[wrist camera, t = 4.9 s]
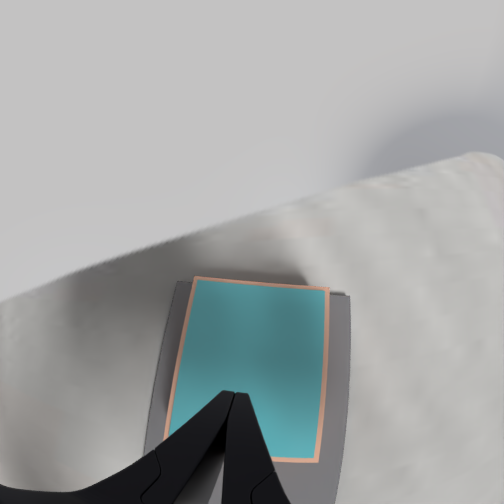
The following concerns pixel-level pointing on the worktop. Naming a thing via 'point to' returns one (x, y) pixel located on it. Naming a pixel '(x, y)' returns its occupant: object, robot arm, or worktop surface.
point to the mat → (335, 413)
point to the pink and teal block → (257, 359)
